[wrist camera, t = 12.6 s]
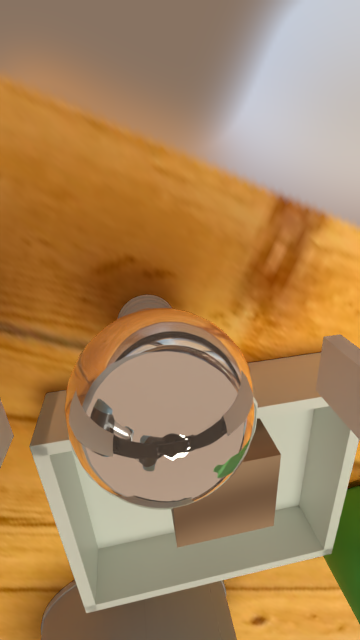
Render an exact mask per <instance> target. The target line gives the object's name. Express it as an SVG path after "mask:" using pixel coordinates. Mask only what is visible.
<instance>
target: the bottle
mask: <svg viewBox="0 0 360 640" xmlns="http://www.w3.org/2000/svg"><path fill="white" fill-rule="evenodd" d="M324 558H325V560H326V562H327V564H328V566H329V568H330V569H331V571H332V573H333V575H334V577H335V579H336V581H337V583H338V584H339V586H340V588H341V590H342V592H343V594H344V596H345V597H346V599H347V601H348V603H349V605H350V607H351V609H352V611H353V612H354V614H355V616H356V618H357V620H358V622H359V624H360V486H356V487H352V488H349V489H347V492H346V496H345V500H344V504H343V508H342V512H341V516H340V520H339V525H338V529H337V533H336V537H335V541H334V545H333V549H332V553H331V554H328V555H324Z"/></svg>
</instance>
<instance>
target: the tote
mask: <svg viewBox="0 0 360 640" xmlns="http://www.w3.org/2000/svg"><path fill="white" fill-rule="evenodd" d="M320 358H321V352H319V353H312V354H306V355H299V356H292V357H286V358H279V359H272V360H265V361H259V362H252V363H248V365H249V368H250V370H251V372H252V375H253V379H254V383H255V387H256V393H257V399H258V415H257V419H258V418H260V419H261V421H262V423H263V425H264V426H265V428H266V430H267V431H268V433H269V435H270V437H271V438H272V440H273V442H274V443H275V445H276V447H277V449H278V450H279V452H280V454H281V460H280V470H279V479H278V489H277V498H276V508H275V517H274V526H271V527H266V528H262V529H258V530H253V531H249V532H244V533H240V534H235V535H231V536H227V537H222V538H218V539H213V540H209V541H204V542H200V543H196V544H191V545H187V546H182V547H178V548H177V543H176V537H175V531H174V525H173V519H172V512H171V509H166V510H159V509H148V508H143V507H138V506H134V505H131V504H128V503H125V502H123V501H120V500H118V499H117V498H115V497H113V496H111V495H110V494H108V493H107V492H106V491H105V490H103V489H102V488H101V487H99V486H98V485H97V484H96V483H95V482H94V481H93V480H92V479H91V478H90V477H89V476H88V474H87V473H86V471H85V470H84V468H83V467H82V465H81V464H80V462H79V461H78V459H77V458H76V456H75V454H74V452H73V449H72V446H71V443H70V441H69V437H68V433H67V429H66V423H65V396H66V391H67V390H64V391H57V392H50V393H46V396H45V399H44V402H43V405H42V408H41V411H40V415H39V418H38V421H37V424H36V427H35V431H34V434H33V437H32V440H31V443H30V449H31V452H32V455H33V458H34V461H35V464H36V467H37V470H38V473H39V476H40V479H41V482H42V485H43V488H44V491H45V493H46V496H47V499H48V502H49V505H50V508H51V511H52V514H53V517H54V520H55V523H56V526H57V529H58V532H59V535H60V537H61V540H62V543H63V546H64V549H65V552H66V555H67V558H68V561H69V564H70V567H71V570H72V573H73V576H74V579H75V581H76V584H77V587H78V590H79V593H80V596H81V599H82V602H83V605H84V608H85V611H86V613H90V612H94V611H98V610H102V609H106V608H110V607H114V606H118V605H123V604H127V603H131V602H135V601H139V600H143V599H147V598H151V597H155V596H160V595H164V594H168V593H172V592H176V591H180V590H184V589H188V588H192V587H197V586H201V585H205V584H209V583H213V582H217V581H221V580H225V579H229V578H234V577H238V576H242V575H246V574H250V573H254V572H258V571H262V570H266V569H271V568H275V567H279V566H283V565H287V564H291V563H295V562H299V561H303V560H308V559H312V558H316V557H320V556H324V555H328V554H331V553H332V549H333V545H334V541H335V537H336V533H337V529H338V525H339V520H340V516H341V512H342V508H343V504H344V500H345V496H346V492H347V488H348V483H349V479H350V475H351V471H352V467H353V463H354V459H355V455H356V450H357V446H358V442H359V439H358V438H357V437H356V435H355V434H354V433H353V432H352V431H351V430H350V429H349V427H348V426H347V425H346V424H345V423H344V422H343V421H342V420H341V418H340V417H339V416H338V415H337V414H336V413H335V412H334V411H333V409H332V408H331V407H330V406H329V405H328V404H327V403H326V401H325V400H324V399H323V398H322V397H321V396H320V395H319V394H318V392H317V391H316V384H317V378H318V371H319V364H320Z"/></svg>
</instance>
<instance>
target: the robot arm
mask: <svg viewBox="0 0 360 640" xmlns="http://www.w3.org/2000/svg"><path fill="white" fill-rule="evenodd" d="M316 391H317V392H318V394H319V395H320V396H321V397H322V398H323V399H324V400H325V401H326V403H327V404H328V405H329V406H330V407H331V408H332V409H333V411H334V412H335V413H336V414H337V415H338V416H339V417H340V418H341V420H342V421H343V422H344V423H345V424H346V425H347V426H348V427H349V429H350V430H351V431H352V432H353V433H354V434H355V435H356V437H357V438H358V439H359V440H360V349H359V348H358V347H357V346H355V345H354V344H353V343H351V342H350V341H348V340H347V339H346V338H344V337H343V336H342V335H334V336H326V337H324V338H323V345H322V351H321V358H320V364H319V371H318V378H317V384H316ZM13 436H14V435H13V433H12V430H11V427H10V424H9V421H8V419H7V416H6V413H5V410H4V408H3V405H2V402H1V399H0V468H1V465H2V463H3V460H4V458H5V456H6V453H7V451H8V448H9V446H10V444H11V441H12V439H13Z"/></svg>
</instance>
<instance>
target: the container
mask: <svg viewBox="0 0 360 640" xmlns="http://www.w3.org/2000/svg"><path fill="white" fill-rule="evenodd" d="M41 635H42V636H41V640H237V638H236V634H235V630H234V627H233V623H232V619H231V615H230V611H229V607H228V603H227V600H226V589H225V585H224V582H223V580H221V581H217V582H213V583H209V584H205V585H201V586H197V587H192V588H188V589H184V590H180V591H176V592H172V593H168V594H164V595H160V596H155V597H151V598H147V599H143V600H139V601H135V602H131V603H127V604H123V605H118V606H114V607H110V608H106V609H102V610H98V611H94V612H90V613H86V611H85V608H84V605H83V602H82V599H81V596H80V593H79V590H78V587H77V584H76V581H75V580H74V581H72V582H71V583H69V584H68V585H67V586H66V587H64V588H63V589H62V590H61V591H60V592H59V593H58V594H57V595H56V596H55V597H54V598H53V599H52V600H51V602H50V603H49V604H48V606H47V608H46V610H45V612H44V614H43V619H42V624H41Z"/></svg>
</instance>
